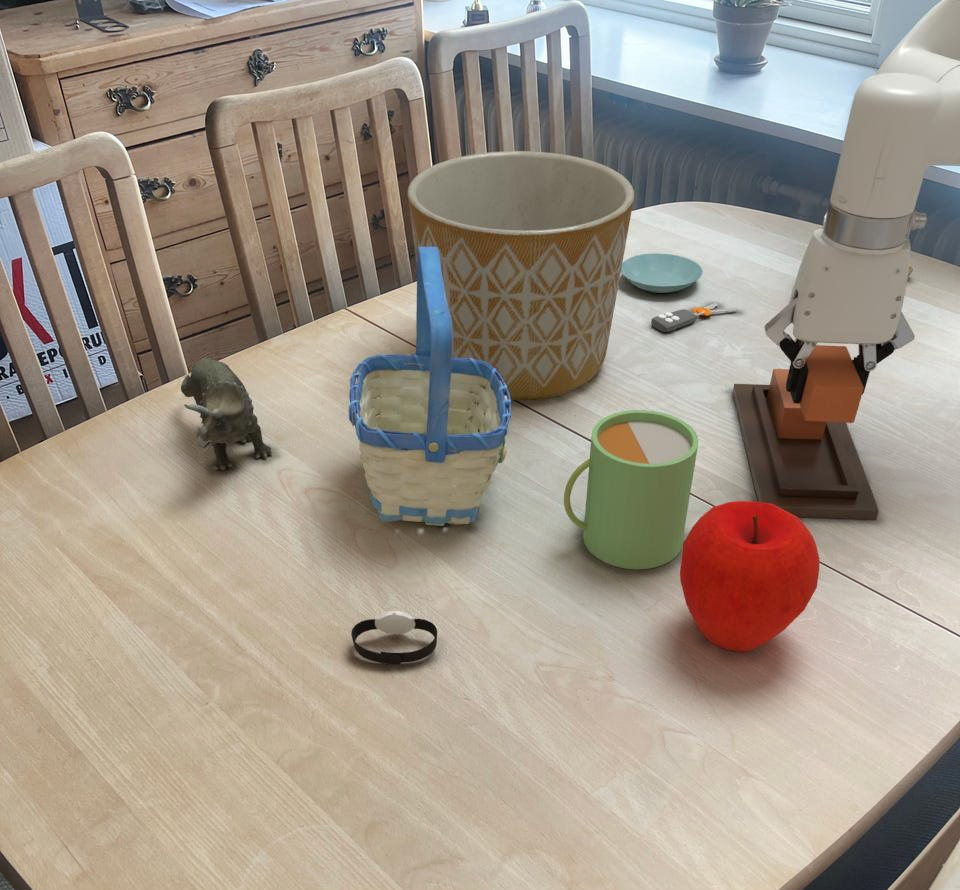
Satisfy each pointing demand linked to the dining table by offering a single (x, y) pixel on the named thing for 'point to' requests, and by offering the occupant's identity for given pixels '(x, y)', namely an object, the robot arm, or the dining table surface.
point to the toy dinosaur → (222, 410)
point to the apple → (747, 573)
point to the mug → (636, 488)
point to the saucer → (661, 272)
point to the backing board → (800, 456)
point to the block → (831, 386)
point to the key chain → (683, 317)
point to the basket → (429, 418)
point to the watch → (394, 625)
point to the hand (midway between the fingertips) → (822, 396)
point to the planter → (526, 261)
